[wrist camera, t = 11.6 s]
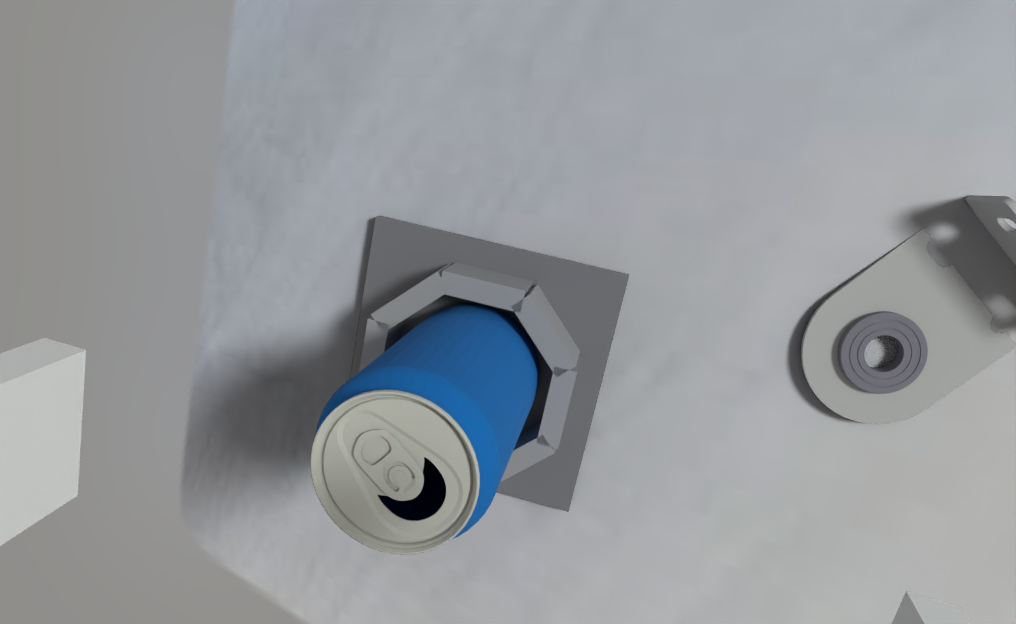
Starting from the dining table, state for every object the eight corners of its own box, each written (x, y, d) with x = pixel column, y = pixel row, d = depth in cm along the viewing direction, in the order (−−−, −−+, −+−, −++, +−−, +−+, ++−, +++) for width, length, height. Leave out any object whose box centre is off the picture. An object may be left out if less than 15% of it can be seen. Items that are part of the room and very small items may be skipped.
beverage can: (469, 455, 36) (389, 601, 24) (382, 356, 35) (259, 456, 24) (569, 377, 34) (534, 494, 22) (479, 272, 34) (396, 336, 22)
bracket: (767, 335, 33) (781, 357, 30) (970, 190, 30) (1011, 196, 27) (856, 443, 33) (880, 476, 30) (1064, 310, 31) (1116, 330, 27)
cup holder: (380, 215, 34) (356, 222, 32) (628, 274, 33) (627, 286, 30) (343, 443, 38) (318, 468, 35) (569, 505, 36) (563, 537, 33)
